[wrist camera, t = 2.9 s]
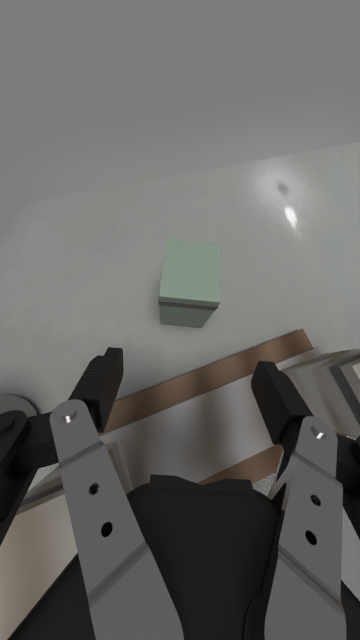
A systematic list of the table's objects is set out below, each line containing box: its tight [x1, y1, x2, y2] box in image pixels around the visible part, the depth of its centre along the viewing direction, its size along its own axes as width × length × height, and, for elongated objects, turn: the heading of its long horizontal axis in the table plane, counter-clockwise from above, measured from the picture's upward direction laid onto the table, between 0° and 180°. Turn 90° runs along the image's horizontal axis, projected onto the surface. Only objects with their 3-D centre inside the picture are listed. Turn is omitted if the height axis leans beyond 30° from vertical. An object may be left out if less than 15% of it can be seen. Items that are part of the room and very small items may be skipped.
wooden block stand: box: [0, 329, 360, 640], centre depth 17 cm, size 29×12×11 cm, turn 111°
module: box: [159, 238, 222, 328], centre depth 21 cm, size 5×6×9 cm
